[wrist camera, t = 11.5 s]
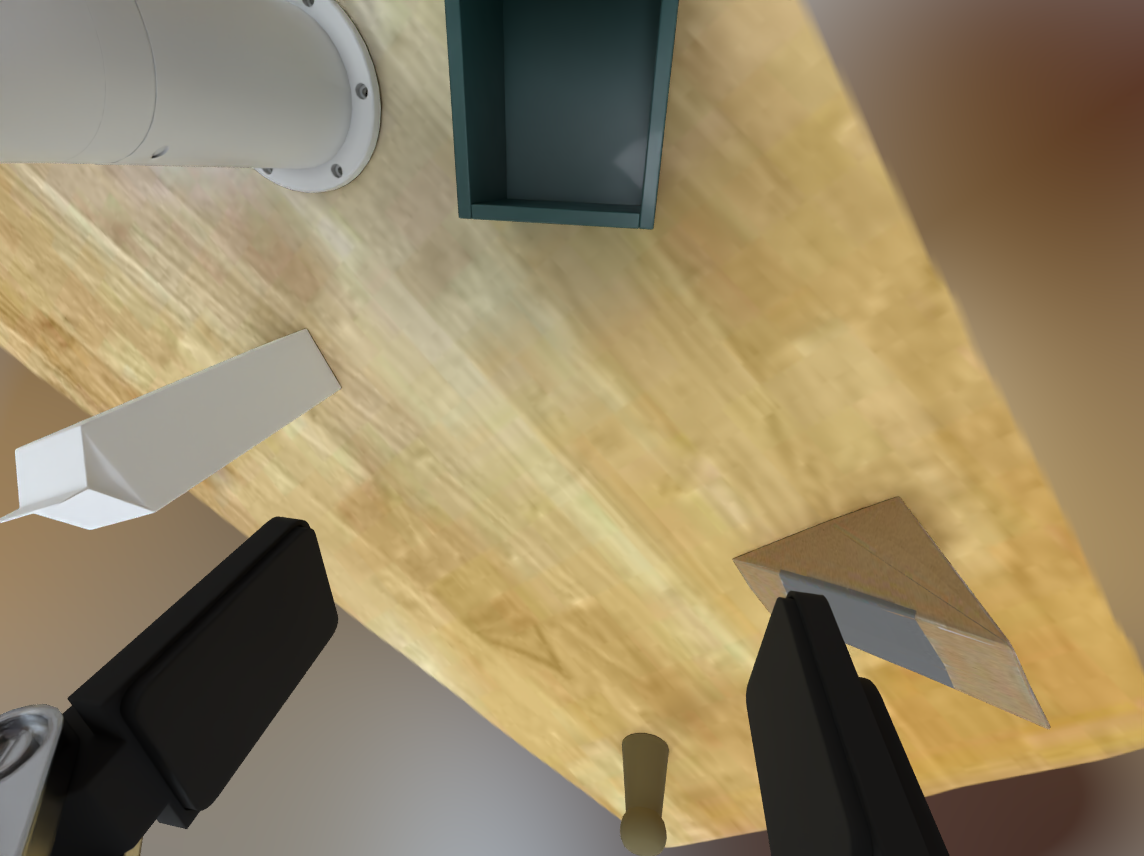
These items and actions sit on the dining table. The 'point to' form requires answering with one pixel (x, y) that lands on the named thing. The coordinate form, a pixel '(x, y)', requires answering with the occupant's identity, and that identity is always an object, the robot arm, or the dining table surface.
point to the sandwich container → (897, 601)
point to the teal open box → (559, 108)
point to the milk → (170, 436)
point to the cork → (644, 794)
